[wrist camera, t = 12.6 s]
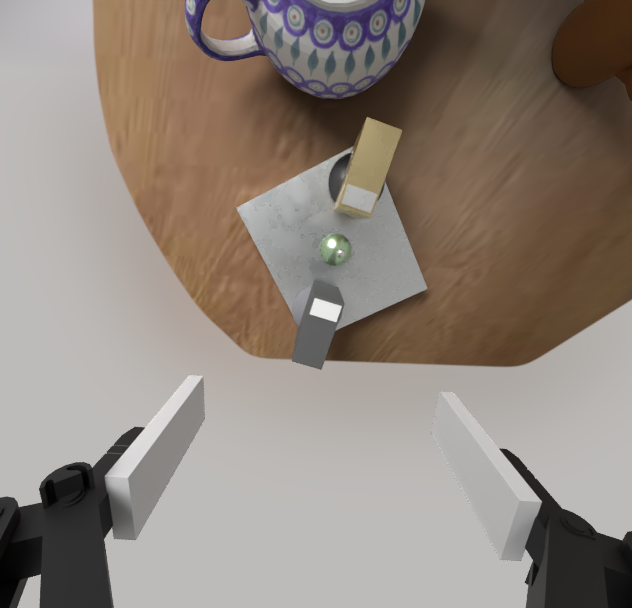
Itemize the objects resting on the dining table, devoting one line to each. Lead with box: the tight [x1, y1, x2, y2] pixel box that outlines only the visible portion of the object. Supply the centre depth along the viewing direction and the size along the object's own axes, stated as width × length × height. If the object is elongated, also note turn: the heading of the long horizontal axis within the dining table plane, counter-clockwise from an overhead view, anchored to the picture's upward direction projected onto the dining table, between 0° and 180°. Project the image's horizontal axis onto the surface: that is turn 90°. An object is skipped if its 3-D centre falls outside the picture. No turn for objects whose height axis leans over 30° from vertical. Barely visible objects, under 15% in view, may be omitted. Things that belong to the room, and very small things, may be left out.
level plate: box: [237, 146, 427, 331], centre depth 34 cm, size 18×16×3 cm
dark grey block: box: [292, 280, 345, 369], centre depth 31 cm, size 7×6×8 cm
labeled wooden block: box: [328, 117, 402, 220], centre depth 28 cm, size 7×6×8 cm
